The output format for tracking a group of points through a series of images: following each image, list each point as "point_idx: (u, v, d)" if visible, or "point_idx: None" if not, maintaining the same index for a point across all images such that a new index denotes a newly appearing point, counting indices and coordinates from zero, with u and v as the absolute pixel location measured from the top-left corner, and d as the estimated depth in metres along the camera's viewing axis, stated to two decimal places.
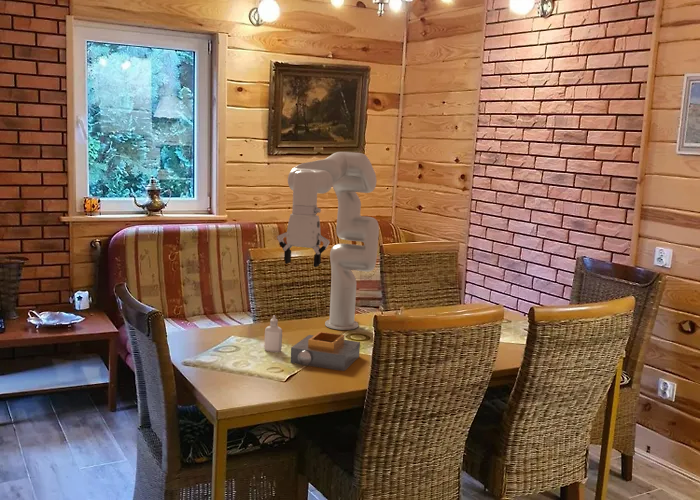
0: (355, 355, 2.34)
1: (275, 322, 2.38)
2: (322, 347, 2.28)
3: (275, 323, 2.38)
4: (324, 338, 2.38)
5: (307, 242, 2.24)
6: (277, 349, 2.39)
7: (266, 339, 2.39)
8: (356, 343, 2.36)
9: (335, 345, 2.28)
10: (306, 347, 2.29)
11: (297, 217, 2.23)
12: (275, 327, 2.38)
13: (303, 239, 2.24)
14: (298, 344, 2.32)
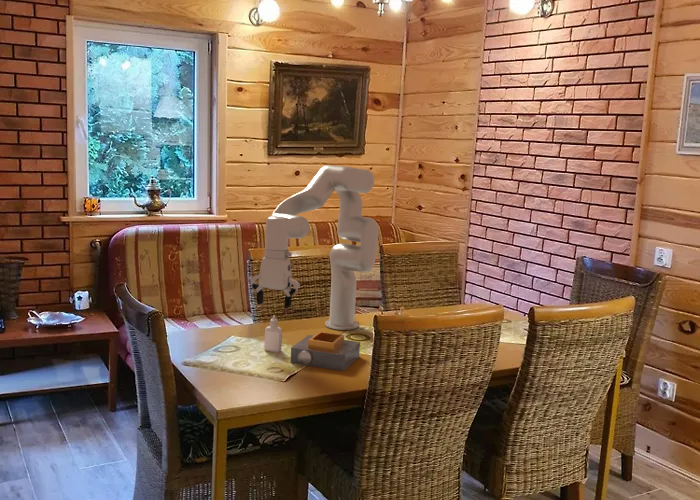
0: (355, 355, 2.34)
1: (275, 322, 2.38)
2: (322, 347, 2.28)
3: (275, 323, 2.38)
4: (324, 338, 2.38)
5: (278, 285, 2.34)
6: (277, 349, 2.39)
7: (266, 339, 2.39)
8: (356, 343, 2.36)
9: (335, 345, 2.28)
10: (306, 347, 2.29)
11: (269, 261, 2.33)
12: (275, 327, 2.38)
13: (274, 282, 2.34)
14: (298, 344, 2.32)
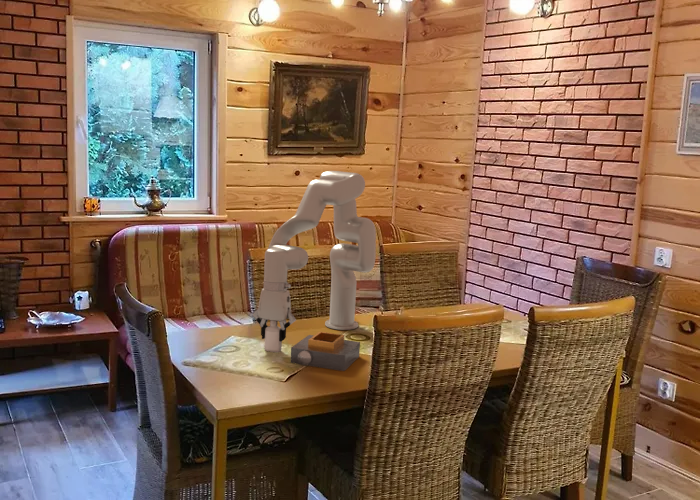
0: (355, 355, 2.34)
1: (275, 322, 2.38)
2: (322, 347, 2.28)
3: (275, 323, 2.38)
4: (324, 338, 2.38)
5: (277, 316, 2.36)
6: (277, 349, 2.39)
7: (266, 339, 2.39)
8: (356, 343, 2.36)
9: (335, 345, 2.28)
10: (306, 347, 2.29)
11: (268, 292, 2.35)
12: (275, 327, 2.38)
13: (274, 313, 2.36)
14: (298, 344, 2.32)
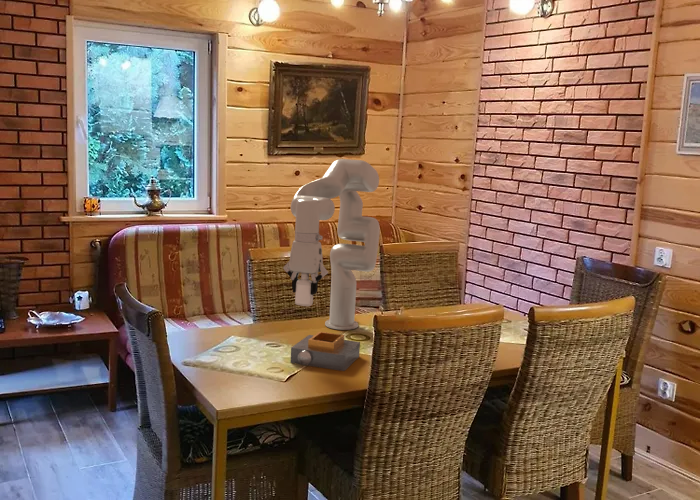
0: (355, 355, 2.34)
1: (306, 275, 2.32)
2: (322, 347, 2.28)
3: (306, 276, 2.32)
4: (324, 338, 2.38)
5: (309, 268, 2.29)
6: (308, 303, 2.32)
7: (297, 292, 2.33)
8: (356, 343, 2.36)
9: (335, 345, 2.28)
10: (306, 347, 2.29)
11: (299, 244, 2.29)
12: (306, 280, 2.32)
13: (305, 265, 2.30)
14: (298, 344, 2.32)
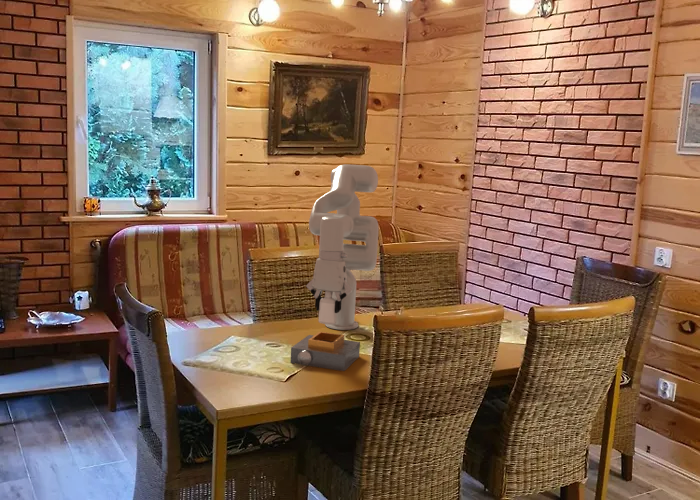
0: (355, 355, 2.34)
1: (330, 293, 2.29)
2: (322, 347, 2.28)
3: (330, 294, 2.30)
4: (324, 338, 2.38)
5: (333, 286, 2.27)
6: (332, 321, 2.30)
7: (321, 311, 2.31)
8: (356, 343, 2.36)
9: (335, 345, 2.28)
10: (306, 347, 2.29)
11: (324, 262, 2.27)
12: (330, 298, 2.30)
13: (329, 284, 2.27)
14: (298, 344, 2.32)
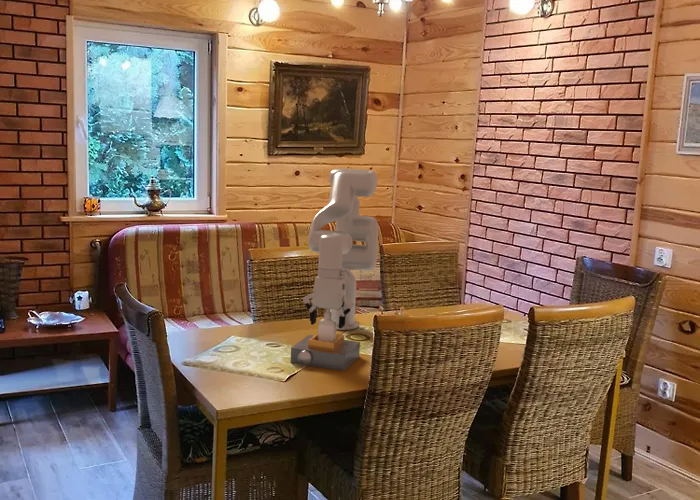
0: (355, 355, 2.34)
1: (329, 315, 2.31)
2: (322, 347, 2.28)
3: (329, 316, 2.31)
4: None
5: (333, 304, 2.28)
6: None
7: (320, 332, 2.32)
8: (356, 343, 2.36)
9: (335, 345, 2.28)
10: (306, 347, 2.29)
11: (323, 280, 2.28)
12: (329, 320, 2.31)
13: (329, 301, 2.28)
14: (298, 344, 2.32)
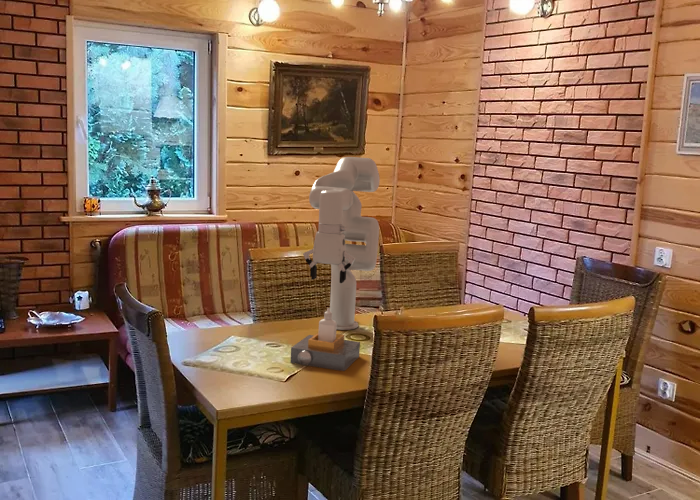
0: (355, 355, 2.34)
1: (329, 315, 2.31)
2: (322, 347, 2.28)
3: (330, 316, 2.31)
4: None
5: (333, 259, 2.31)
6: None
7: (320, 332, 2.32)
8: (356, 343, 2.36)
9: (335, 345, 2.28)
10: (306, 347, 2.29)
11: (323, 235, 2.30)
12: (330, 320, 2.31)
13: (329, 256, 2.31)
14: (298, 344, 2.32)
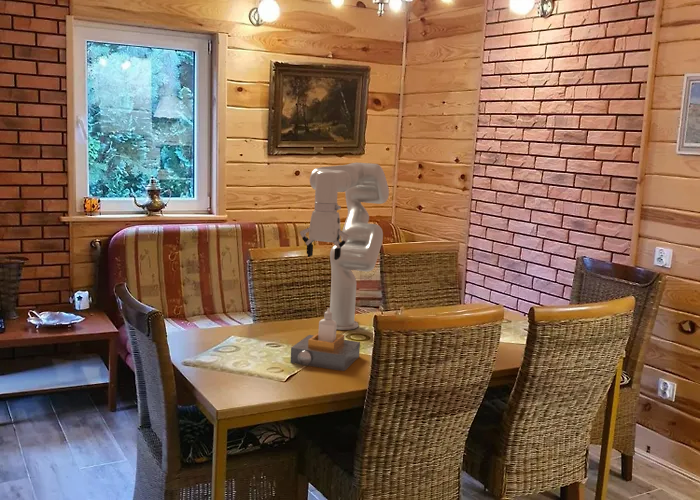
0: (355, 355, 2.34)
1: (329, 315, 2.31)
2: (322, 347, 2.28)
3: (330, 316, 2.31)
4: None
5: (328, 237, 2.43)
6: None
7: (320, 332, 2.32)
8: (356, 343, 2.36)
9: (335, 345, 2.28)
10: (306, 347, 2.29)
11: (319, 214, 2.42)
12: (330, 320, 2.31)
13: (324, 234, 2.43)
14: (298, 344, 2.32)
